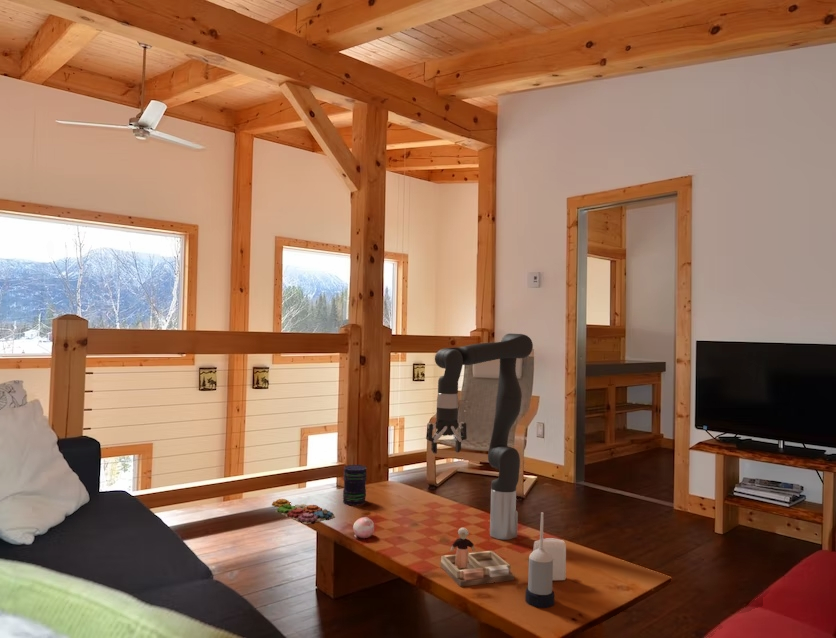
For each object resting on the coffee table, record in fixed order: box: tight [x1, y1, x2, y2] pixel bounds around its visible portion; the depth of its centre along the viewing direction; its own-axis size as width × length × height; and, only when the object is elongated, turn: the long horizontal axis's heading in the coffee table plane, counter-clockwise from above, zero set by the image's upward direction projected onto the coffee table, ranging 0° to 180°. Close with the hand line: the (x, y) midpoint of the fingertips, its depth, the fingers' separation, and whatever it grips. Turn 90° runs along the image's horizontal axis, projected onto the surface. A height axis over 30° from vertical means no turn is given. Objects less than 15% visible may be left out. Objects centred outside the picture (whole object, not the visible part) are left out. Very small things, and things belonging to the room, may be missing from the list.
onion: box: [352, 516, 375, 540], centre depth 223 cm, size 8×8×7 cm
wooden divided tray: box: [439, 550, 515, 588], centre depth 193 cm, size 18×16×4 cm
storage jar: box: [342, 464, 367, 506], centre depth 266 cm, size 10×10×15 cm
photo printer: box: [532, 537, 567, 581], centre depth 190 cm, size 10×4×12 cm, turn 96°
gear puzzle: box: [271, 498, 336, 526], centre depth 250 cm, size 31×16×4 cm, turn 45°
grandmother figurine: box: [449, 527, 476, 570], centre depth 192 cm, size 8×4×13 cm, turn 105°
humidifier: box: [524, 512, 555, 609], centre depth 174 cm, size 8×8×25 cm
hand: (446, 452), depth 214 cm, fingers open, 8 cm apart
